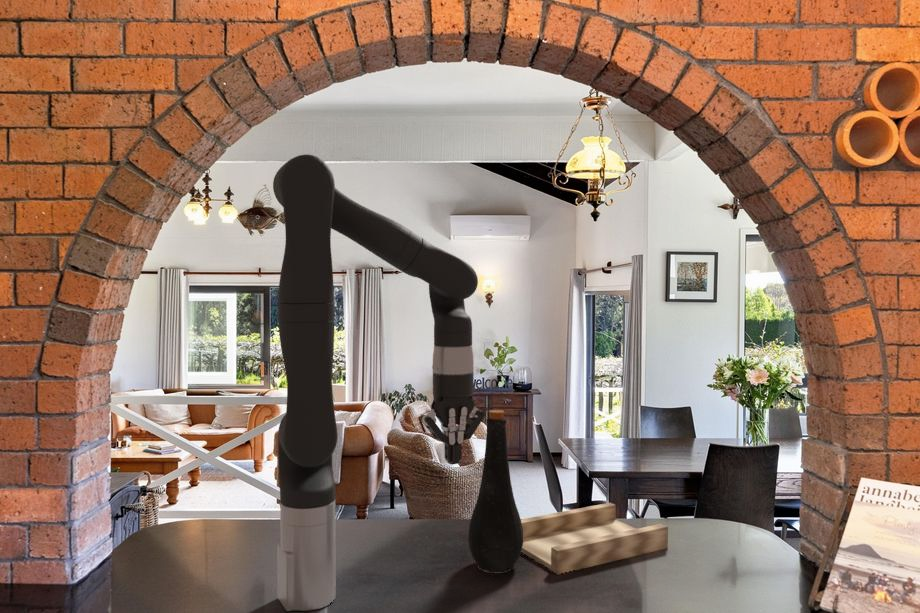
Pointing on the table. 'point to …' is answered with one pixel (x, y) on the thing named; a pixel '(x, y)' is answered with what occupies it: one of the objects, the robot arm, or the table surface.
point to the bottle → (495, 506)
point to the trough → (587, 538)
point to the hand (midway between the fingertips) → (453, 463)
